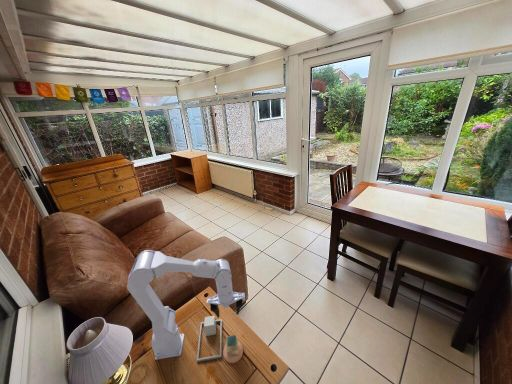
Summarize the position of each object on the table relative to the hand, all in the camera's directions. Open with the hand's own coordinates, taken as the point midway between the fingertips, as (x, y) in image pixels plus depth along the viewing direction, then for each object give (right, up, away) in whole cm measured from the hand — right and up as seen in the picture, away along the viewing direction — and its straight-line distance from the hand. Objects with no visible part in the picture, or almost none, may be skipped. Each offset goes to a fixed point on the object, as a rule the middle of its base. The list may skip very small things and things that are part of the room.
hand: (228, 313), depth 82 cm
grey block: (-8, -9, +3) cm, 12 cm away
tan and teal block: (+3, -11, -5) cm, 12 cm away
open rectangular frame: (-7, -11, 0) cm, 13 cm away
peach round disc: (+3, -12, -4) cm, 13 cm away
